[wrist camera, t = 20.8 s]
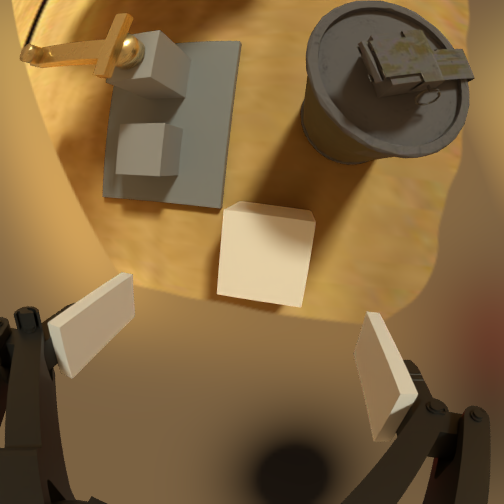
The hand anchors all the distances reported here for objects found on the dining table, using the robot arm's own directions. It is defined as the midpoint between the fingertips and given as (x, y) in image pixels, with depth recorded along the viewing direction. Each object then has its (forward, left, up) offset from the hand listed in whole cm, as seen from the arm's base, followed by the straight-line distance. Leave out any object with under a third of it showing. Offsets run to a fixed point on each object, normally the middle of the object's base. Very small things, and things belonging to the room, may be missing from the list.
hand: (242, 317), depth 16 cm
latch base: (-13, -14, -19) cm, 27 cm away
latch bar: (-19, -20, -9) cm, 29 cm away
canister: (-15, +7, -20) cm, 26 cm away
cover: (0, 0, -19) cm, 19 cm away
